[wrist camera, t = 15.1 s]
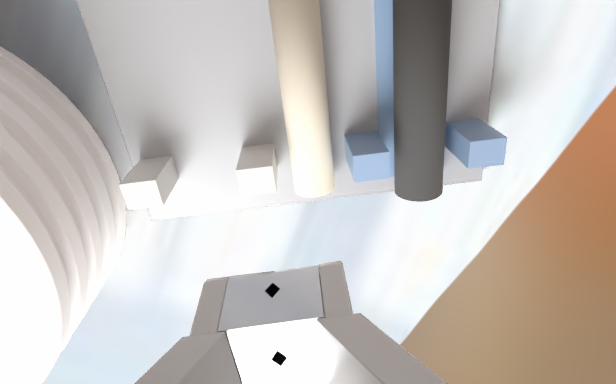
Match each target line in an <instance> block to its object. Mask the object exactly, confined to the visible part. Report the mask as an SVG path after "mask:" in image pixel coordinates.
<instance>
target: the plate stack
mask: <svg viewBox="0 0 616 384" xmlns="http://www.w3.org/2000/svg"><path fill="white" fill-rule="evenodd" d="M119 184H120V180H119V177H118V174H117V171H116V169H115V166H114V164H113V162H112V160H111V157H110V155H109V154H108V152H107V150H106V148H105V146H104V144H103V143H102V141H101V139H100V138H99V136H98V135H97V133H96V132H95V130H94V129H93V128H92V126H91V125H90V123H89V122H88V121H87V120H86V118H85V117H84V116H83V115H82V113H81V112H80V111H79V110H78V109H77V108H76V106H75V105H74V104H73V103H72V102H71V101H70V100H69V99H68V98H67V97H66V96H65V95H64V94H63V93H62V92H61V91H60V90H59V89H58V88H57V87H56V86H55V85H53V84H52V83H51V82H50V81H49V80H48V79H46V78H45V77H44V76H43V75H42V74H40V73H39V72H38V71H36V70H35V69H34V68H33V67H31V66H30V65H28V64H27V63H26V62H24V61H23V60H21V59H20V58H18V57H17V56H15V55H14V54H12V53H10V52H9V51H7V50H6V49H4V48H2V47H0V384H42V382H43V381H44V380H45V378H46V377H47V375H48V374H49V372H50V371H51V369H52V368H53V366H54V364H55V363H56V361H57V359H58V357H59V356H60V354H61V352H62V350H63V349H64V348H65V346H66V345H67V343H68V342H69V340H70V338H71V337H72V335H73V333H74V332H75V330H76V328H77V326H78V325H79V323H80V322H81V320H82V319H83V317H84V316H85V314H86V312H87V311H88V309H89V307H90V306H91V304H92V302H93V301H94V299H95V298H96V296H97V294H98V293H99V291H100V290H101V288H102V286H103V284H104V283H105V281H106V280H107V278H108V277H109V275H110V273H111V272H112V270H113V268H114V267H115V265H116V263H117V261H118V259H119V256H120V254H121V251H122V247H123V244H124V239H125V232H126V207H125V200H124V198H123V195H122V192H121V189H120V187H119Z"/></svg>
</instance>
